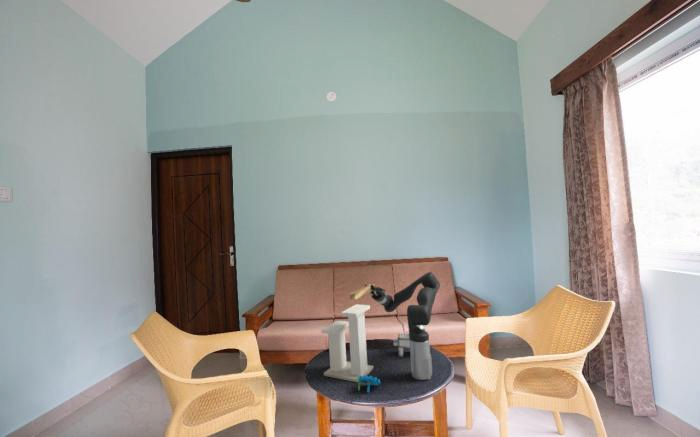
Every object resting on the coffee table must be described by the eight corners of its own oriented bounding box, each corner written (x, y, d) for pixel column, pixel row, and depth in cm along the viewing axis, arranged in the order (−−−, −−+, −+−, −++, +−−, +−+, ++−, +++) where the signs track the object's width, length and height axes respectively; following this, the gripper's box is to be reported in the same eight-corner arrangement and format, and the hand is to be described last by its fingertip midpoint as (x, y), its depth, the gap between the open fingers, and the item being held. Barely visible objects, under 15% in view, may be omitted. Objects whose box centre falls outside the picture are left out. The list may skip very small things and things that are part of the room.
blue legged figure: (383, 382, 139) (375, 373, 133) (382, 396, 134) (374, 388, 128) (361, 382, 143) (352, 373, 137) (359, 396, 139) (350, 387, 133)
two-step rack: (373, 368, 157) (369, 305, 158) (360, 382, 143) (356, 313, 144) (339, 362, 166) (336, 302, 167) (323, 375, 152) (320, 310, 153)
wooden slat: (374, 289, 177) (374, 284, 178) (355, 299, 155) (355, 293, 155) (370, 289, 179) (369, 284, 179) (350, 299, 157) (349, 293, 157)
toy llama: (395, 351, 177) (392, 316, 178) (426, 351, 173) (423, 316, 174) (394, 356, 169) (391, 320, 170) (426, 357, 166) (424, 320, 167)
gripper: (369, 289, 191) (358, 279, 178) (391, 290, 185) (380, 280, 172) (368, 301, 188) (356, 292, 175) (389, 302, 181) (378, 293, 168)
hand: (368, 286), depth 173 cm, fingers closed on wooden slat, 3 cm apart
